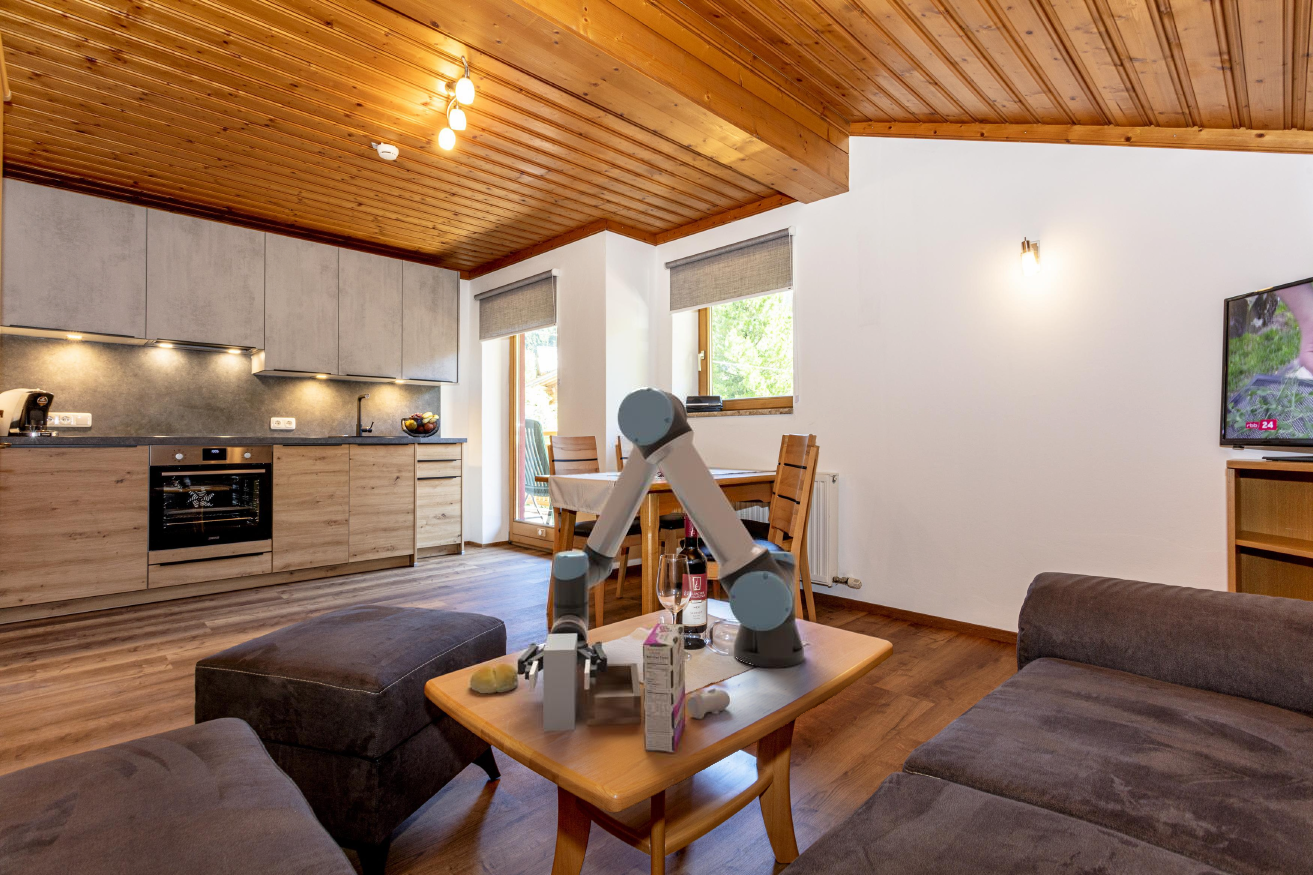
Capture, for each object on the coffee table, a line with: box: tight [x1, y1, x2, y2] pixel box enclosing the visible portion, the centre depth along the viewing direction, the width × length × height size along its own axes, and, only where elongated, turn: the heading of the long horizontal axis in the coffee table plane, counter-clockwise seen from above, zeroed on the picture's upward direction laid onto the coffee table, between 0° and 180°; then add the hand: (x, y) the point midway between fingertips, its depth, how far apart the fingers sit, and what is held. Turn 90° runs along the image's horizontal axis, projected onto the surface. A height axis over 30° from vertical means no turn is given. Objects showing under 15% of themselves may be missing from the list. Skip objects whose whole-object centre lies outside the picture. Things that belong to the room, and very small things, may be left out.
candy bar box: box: [642, 622, 687, 754], centre depth 100 cm, size 11×5×16 cm, turn 168°
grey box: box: [542, 633, 578, 732], centre depth 107 cm, size 5×9×13 cm, turn 4°
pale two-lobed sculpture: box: [686, 688, 731, 720], centre depth 110 cm, size 4×8×5 cm
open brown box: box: [586, 662, 642, 726], centre depth 113 cm, size 9×16×4 cm, turn 4°
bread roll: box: [469, 663, 519, 694], centre depth 122 cm, size 8×9×4 cm
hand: (559, 681), depth 103 cm, fingers open, 8 cm apart
